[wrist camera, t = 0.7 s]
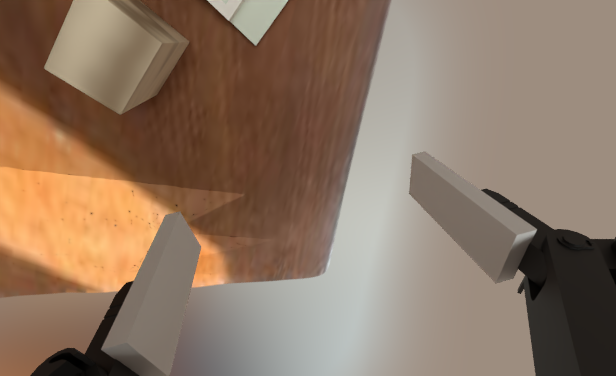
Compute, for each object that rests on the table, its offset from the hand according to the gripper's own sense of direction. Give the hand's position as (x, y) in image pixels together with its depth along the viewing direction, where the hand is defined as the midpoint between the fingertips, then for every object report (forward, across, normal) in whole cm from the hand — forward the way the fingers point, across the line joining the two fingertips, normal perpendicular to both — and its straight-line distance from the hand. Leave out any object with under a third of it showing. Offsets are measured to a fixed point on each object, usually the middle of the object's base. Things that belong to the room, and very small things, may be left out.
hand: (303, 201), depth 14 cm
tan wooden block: (+25, -13, +9) cm, 30 cm away
